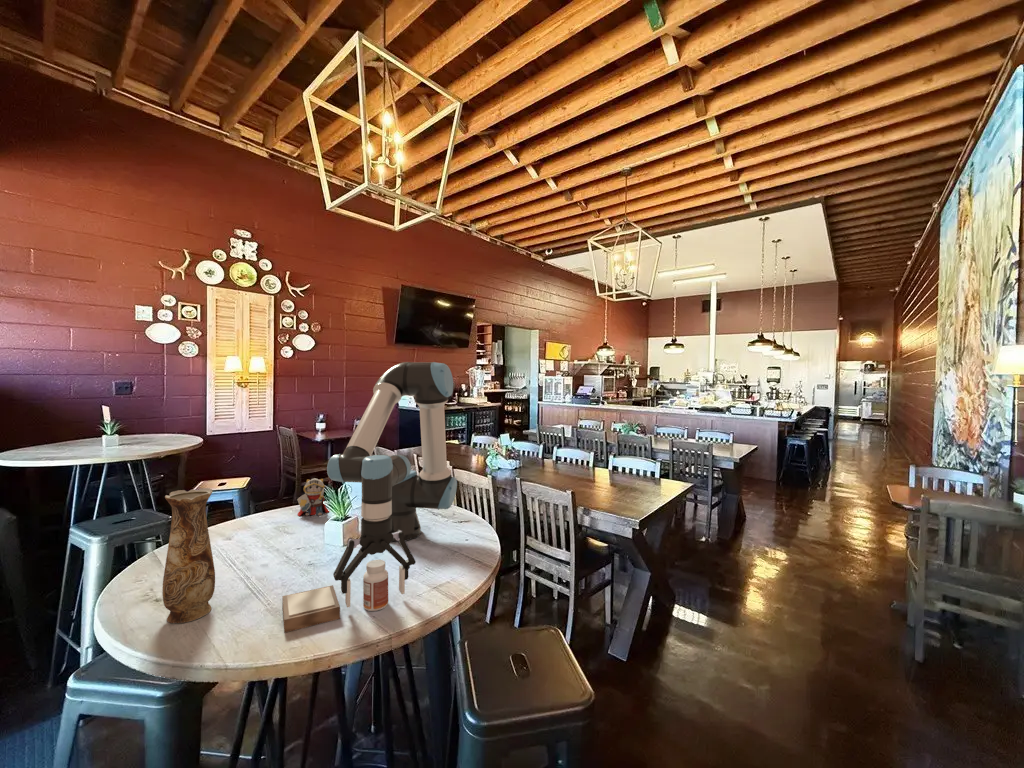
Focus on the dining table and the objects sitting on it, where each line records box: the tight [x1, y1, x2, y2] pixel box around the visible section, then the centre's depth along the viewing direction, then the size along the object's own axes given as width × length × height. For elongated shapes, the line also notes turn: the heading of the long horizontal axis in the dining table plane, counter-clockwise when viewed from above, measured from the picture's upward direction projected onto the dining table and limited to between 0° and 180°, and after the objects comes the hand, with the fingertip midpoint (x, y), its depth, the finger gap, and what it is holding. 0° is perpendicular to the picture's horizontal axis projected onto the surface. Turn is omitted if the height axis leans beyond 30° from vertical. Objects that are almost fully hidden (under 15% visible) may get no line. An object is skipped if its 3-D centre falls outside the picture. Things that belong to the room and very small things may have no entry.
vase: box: [161, 487, 216, 624], centre depth 106 cm, size 10×11×30 cm
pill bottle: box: [362, 559, 389, 612], centre depth 111 cm, size 6×6×11 cm
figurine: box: [297, 477, 330, 517], centre depth 181 cm, size 13×11×15 cm
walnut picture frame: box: [281, 585, 341, 634], centre depth 108 cm, size 12×12×3 cm
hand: (375, 598), depth 111 cm, fingers open, 13 cm apart
